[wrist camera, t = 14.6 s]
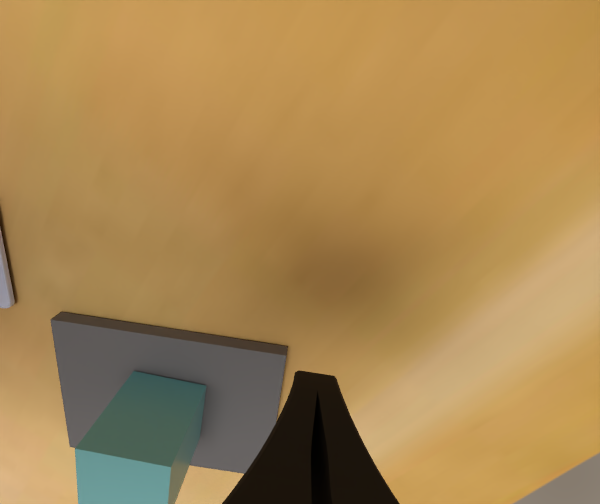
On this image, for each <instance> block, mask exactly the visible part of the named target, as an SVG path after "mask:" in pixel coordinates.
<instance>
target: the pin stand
mask: <svg viewBox="0 0 600 504" xmlns="http://www.w3.org/2000/svg"><path fill="white" fill-rule="evenodd" d="M51 326H52V333H53V339H54V346H55V352H56V359H57V365H58V372H59V378H60V385H61V391H62V398H63V404H64V411H65V418H66V424H67V431H68V437H69V444H70V447H74V448H76V447H77V445H78V444H79V443H80V441H81V440H82V439H83V437H84V436H85V435H86V433H87V432H88V431H89V429H90V428H91V427H92V425H93V424H94V423H95V421H96V420H97V419H98V417H99V416H100V415H101V413H102V412H103V411H104V410H105V408H106V407H107V406H108V404H109V403H110V402H111V400H112V399H113V398H114V396H115V395H116V394H117V392H118V391H119V390H120V388H121V387H122V386H123V384H124V383H125V382H126V380H127V379H128V378H129V376H130V375H131V374H132V372H133V371H136V372H141V373H146V374H151V375H156V376H161V377H166V378H171V379H176V380H181V381H186V382H191V383H196V384H201V385H206V393H205V401H204V409H203V417H202V424H201V432H200V439H199V441H198V444H197V447H196V449H195V452H194V454H193V457H192V460H191V462H190V465H192V466H198V467H205V468H211V469H218V470H224V471H231V472H237V473H244V474H245V473H246V471H247V470H248V468H249V467H250V465H251V464H252V462H253V461H254V459H255V458H256V456H257V455H258V453H259V452H260V450H261V448H262V447H263V445H264V444H265V442H266V440H267V438H268V437H269V435H270V433H271V431H272V429H273V428H274V426H275V424H276V420H277V413H278V407H279V400H280V394H281V387H282V381H283V374H284V368H285V362H286V355H287V348H288V346H282V345H275V344H269V343H262V342H255V341H249V340H242V339H236V338H229V337H223V336H216V335H210V334H203V333H197V332H190V331H184V330H177V329H170V328H164V327H157V326H151V325H144V324H138V323H131V322H125V321H118V320H112V319H105V318H98V317H92V316H85V315H79V314H72V313H66V312H60V313H59V314H58V315H56V316H55V317H53V318H52V319H51Z"/></svg>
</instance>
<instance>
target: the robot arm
mask: <svg viewBox="0 0 600 504" xmlns="http://www.w3.org/2000/svg"><path fill="white" fill-rule="evenodd" d="M14 303H15V300H14V295H13V290H12V285H11V280H10V275H9V269H8V264H7V259H6V254H5V249H4V244H3V239H2V233H1V228H0V308H9V307H11V306H13V305H14ZM222 504H399V502H398V501H397V499H396V498H395V496H394V495H393V493H392V492H391V490H390V488H389V487H388V485H387V484H386V482H385V480H384V479H383V477H382V476H381V474H380V472H379V470H378V469H377V467H376V465H375V464H374V462H373V460H372V458H371V456H370V454H369V453H368V451H367V449H366V447H365V445H364V443H363V441H362V439H361V437H360V435H359V433H358V431H357V429H356V427H355V424H354V422H353V420H352V418H351V416H350V413H349V411H348V409H347V406H346V404H345V401H344V399H343V396H342V394H341V391H340V388H339V385H338V382H337V379H336V378H335V376H331V375H324V374H318V373H311V372H305V371H297V372H295V376H294V381H293V385H292V388H291V391H290V394H289V396H288V399H287V401H286V403H285V406H284V408H283V410H282V412H281V414H280V416H279V418H278V420H277V422H276V424H275V426H274V428H273V429H272V431H271V433H270V435H269V437H268V438H267V440H266V442H265V444H264V445H263V447H262V448H261V450H260V452H259V453H258V455H257V456H256V458H255V459H254V461H253V462H252V464H251V465H250V467H249V468H248V470H247V471H246V473H245V474H244V475H243V477H242V478H241V479H240V481H239V482H238V484H237V485H236V486H235V488H234V489H233V490H232V492H231V493H230V494H229V496H228V497H227V498H226V499H225V501H224V502H223V503H222Z"/></svg>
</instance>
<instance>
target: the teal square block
mask: <svg viewBox="0 0 600 504" xmlns="http://www.w3.org/2000/svg"><path fill="white" fill-rule="evenodd" d="M205 393H206V385H201V384H196V383H191V382H186V381H181V380H176V379H171V378H166V377H161V376H156V375H151V374H146V373H141V372H136V371H133V372H132V374H131V375H130V376H129V378H128V379H127V380H126V382H125V383H124V384H123V386H122V387H121V388H120V390H119V391H118V392H117V394H116V395H115V396H114V398H113V399H112V400H111V402H110V403H109V404H108V406H107V407H106V408H105V410H104V411H103V412H102V413H101V415H100V416H99V417H98V419H97V420H96V421H95V423H94V424H93V425H92V427H91V428H90V429H89V431H88V432H87V433H86V435H85V436H84V437H83V439H82V440H81V441H80V443H79V444H78V445H77V447H76V448H75V457H76V473H77V489H78V504H175V501H176V499H177V496H178V493H179V491H180V488H181V486H182V483H183V480H184V478H185V475H186V473H187V470H188V467H189V465H190V462H191V460H192V457H193V454H194V452H195V449H196V447H197V444H198V441H199V439H200V432H201V424H202V417H203V409H204V401H205Z"/></svg>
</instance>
